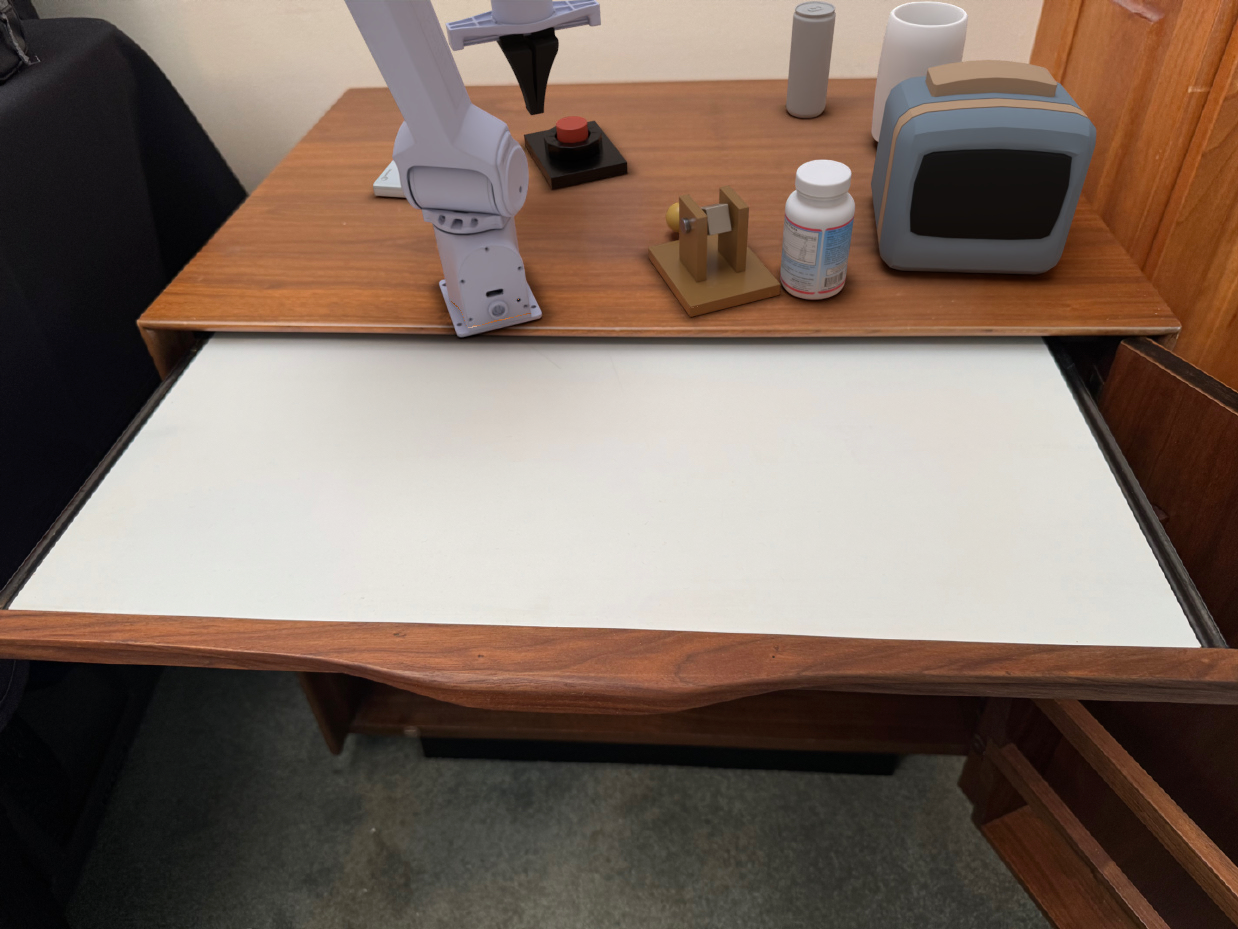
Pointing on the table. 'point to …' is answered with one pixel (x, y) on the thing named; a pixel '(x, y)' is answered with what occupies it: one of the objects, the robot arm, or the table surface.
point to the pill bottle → (817, 230)
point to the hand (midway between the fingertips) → (535, 110)
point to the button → (572, 129)
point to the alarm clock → (979, 169)
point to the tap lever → (716, 218)
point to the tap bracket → (713, 260)
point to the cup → (917, 47)
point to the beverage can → (810, 58)
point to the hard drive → (389, 182)
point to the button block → (575, 157)
